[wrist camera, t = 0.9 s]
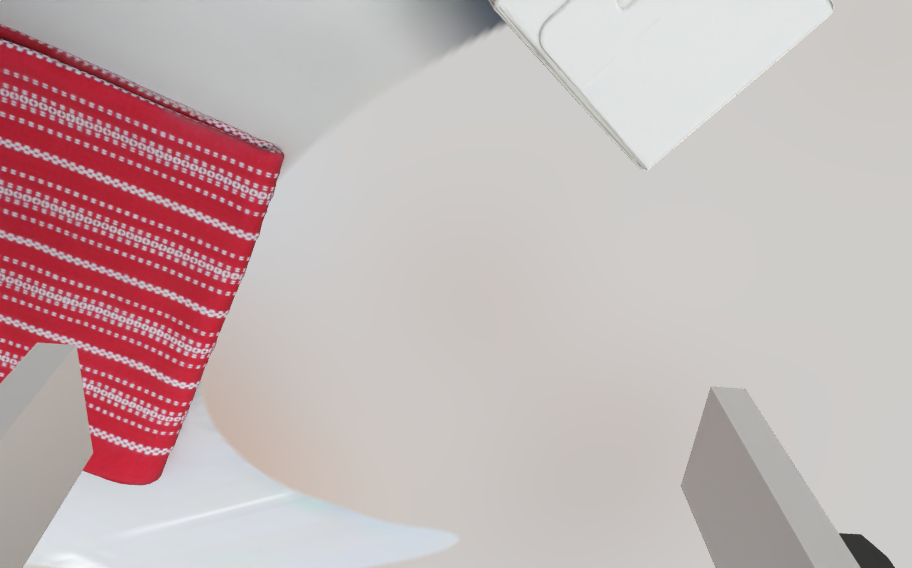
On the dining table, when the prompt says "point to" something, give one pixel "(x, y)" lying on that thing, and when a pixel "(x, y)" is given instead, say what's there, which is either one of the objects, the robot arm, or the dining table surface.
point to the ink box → (658, 58)
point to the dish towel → (120, 241)
